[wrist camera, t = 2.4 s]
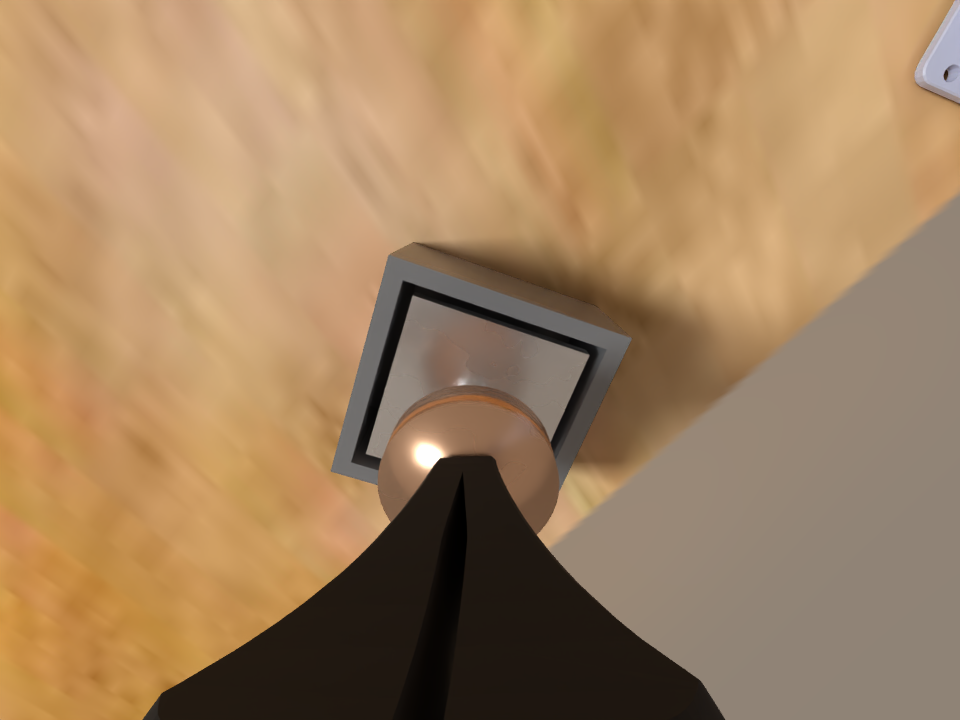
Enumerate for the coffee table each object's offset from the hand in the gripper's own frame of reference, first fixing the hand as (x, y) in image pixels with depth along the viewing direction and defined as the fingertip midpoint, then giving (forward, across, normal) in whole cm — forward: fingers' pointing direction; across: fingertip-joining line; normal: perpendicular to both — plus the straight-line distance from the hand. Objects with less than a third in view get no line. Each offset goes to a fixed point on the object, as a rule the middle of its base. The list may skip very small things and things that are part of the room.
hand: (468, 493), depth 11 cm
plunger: (+5, 0, 0) cm, 5 cm away
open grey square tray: (+10, 0, 0) cm, 10 cm away
